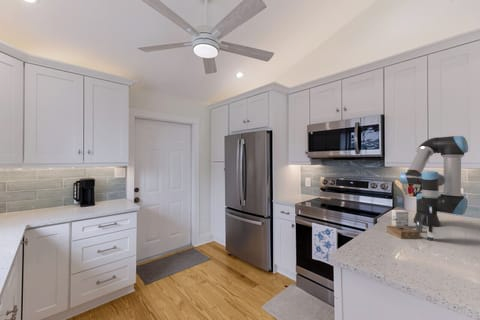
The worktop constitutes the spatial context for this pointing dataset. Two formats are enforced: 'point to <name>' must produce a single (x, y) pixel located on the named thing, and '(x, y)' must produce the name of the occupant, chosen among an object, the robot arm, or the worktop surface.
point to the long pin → (429, 237)
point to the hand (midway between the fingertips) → (430, 236)
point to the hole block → (403, 232)
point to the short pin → (419, 226)
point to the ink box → (399, 218)
